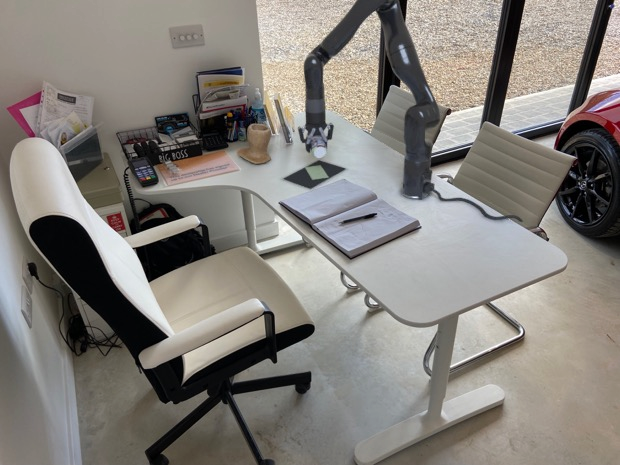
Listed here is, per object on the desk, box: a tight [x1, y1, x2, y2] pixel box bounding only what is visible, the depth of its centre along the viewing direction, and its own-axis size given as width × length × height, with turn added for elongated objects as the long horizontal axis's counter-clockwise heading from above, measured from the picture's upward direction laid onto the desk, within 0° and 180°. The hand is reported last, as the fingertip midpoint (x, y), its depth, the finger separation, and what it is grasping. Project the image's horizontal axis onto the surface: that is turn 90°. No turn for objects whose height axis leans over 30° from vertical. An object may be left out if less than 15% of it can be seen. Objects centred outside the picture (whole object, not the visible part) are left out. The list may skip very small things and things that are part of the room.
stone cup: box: [236, 123, 272, 165], centre depth 209 cm, size 15×12×15 cm
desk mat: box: [283, 160, 346, 190], centre depth 198 cm, size 14×22×1 cm, turn 140°
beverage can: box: [310, 135, 328, 159], centre depth 193 cm, size 6×7×12 cm
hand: (316, 150), depth 194 cm, fingers closed on beverage can, 5 cm apart
